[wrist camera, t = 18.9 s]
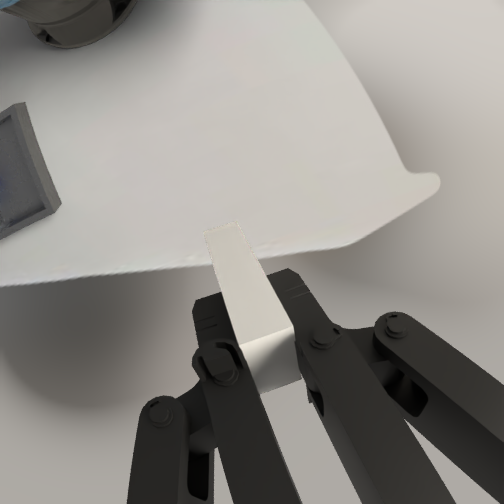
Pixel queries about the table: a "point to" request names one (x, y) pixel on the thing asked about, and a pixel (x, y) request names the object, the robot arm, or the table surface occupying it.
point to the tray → (22, 174)
